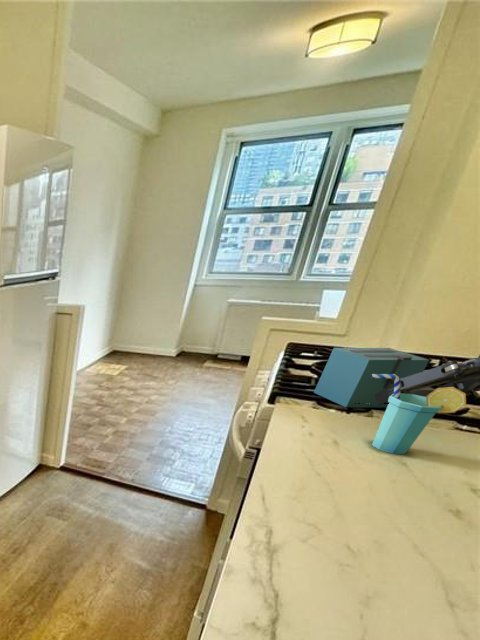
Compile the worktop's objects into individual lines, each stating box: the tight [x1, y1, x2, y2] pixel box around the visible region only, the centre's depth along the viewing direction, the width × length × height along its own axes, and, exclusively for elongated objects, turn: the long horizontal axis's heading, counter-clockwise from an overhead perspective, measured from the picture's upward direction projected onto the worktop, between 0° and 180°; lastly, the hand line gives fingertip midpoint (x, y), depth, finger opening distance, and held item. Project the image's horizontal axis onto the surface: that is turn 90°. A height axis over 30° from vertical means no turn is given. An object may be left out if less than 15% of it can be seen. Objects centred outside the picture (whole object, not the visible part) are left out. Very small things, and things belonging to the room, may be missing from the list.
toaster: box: [313, 347, 430, 408], centre depth 118 cm, size 14×12×13 cm
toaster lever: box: [387, 379, 436, 397], centre depth 110 cm, size 4×9×2 cm, turn 0°
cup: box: [371, 374, 467, 455], centre depth 95 cm, size 14×8×15 cm, turn 57°
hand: (400, 399), depth 111 cm, fingers open, 10 cm apart
